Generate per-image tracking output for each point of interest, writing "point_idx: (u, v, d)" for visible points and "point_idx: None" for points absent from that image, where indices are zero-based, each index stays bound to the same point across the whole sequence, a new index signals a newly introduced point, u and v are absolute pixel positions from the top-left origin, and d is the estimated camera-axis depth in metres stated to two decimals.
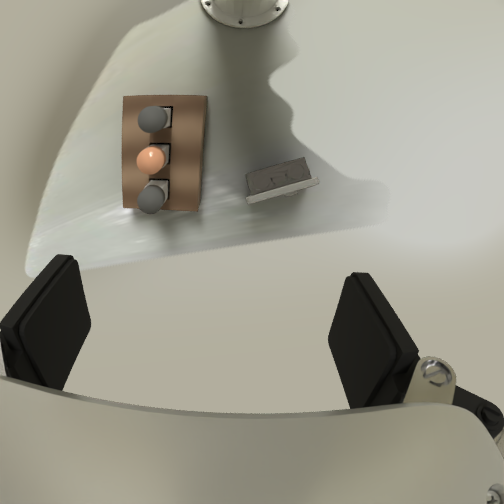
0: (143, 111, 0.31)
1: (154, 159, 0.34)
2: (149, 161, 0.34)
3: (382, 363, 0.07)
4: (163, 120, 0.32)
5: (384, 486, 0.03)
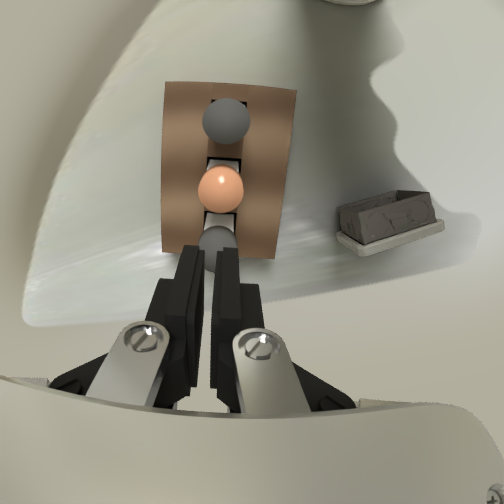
0: (213, 106, 0.19)
1: (229, 188, 0.21)
2: (220, 191, 0.22)
3: None
4: (248, 124, 0.20)
5: (384, 486, 0.03)
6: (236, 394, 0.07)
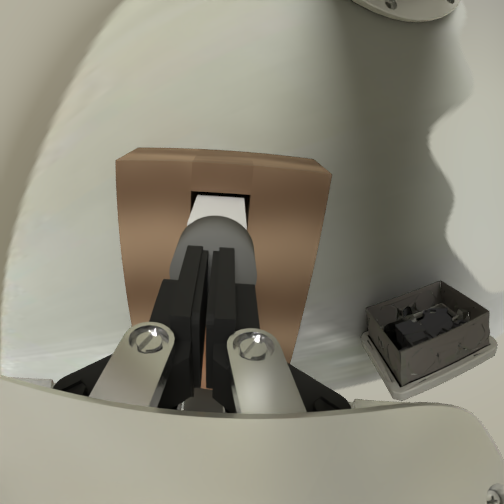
0: None
1: None
2: None
3: None
4: (253, 281, 0.11)
5: (384, 486, 0.03)
6: (230, 394, 0.07)
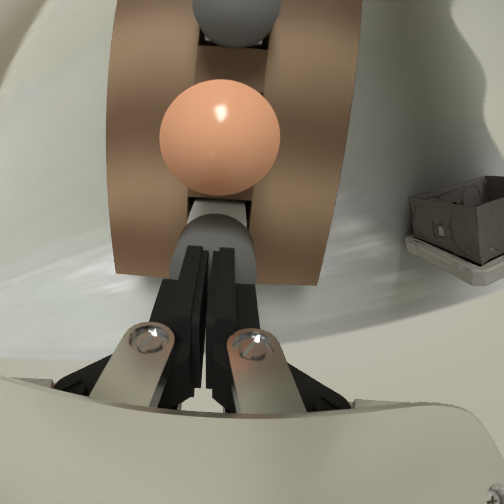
0: None
1: (243, 130, 0.08)
2: (219, 138, 0.08)
3: None
4: (277, 9, 0.09)
5: (384, 486, 0.03)
6: (231, 394, 0.07)
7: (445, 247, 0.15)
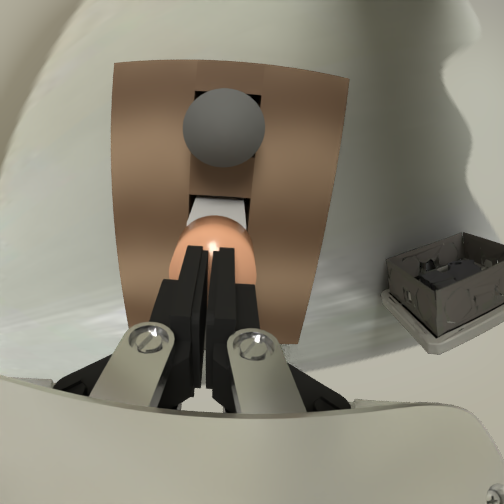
0: (201, 102, 0.11)
1: None
2: None
3: None
4: (261, 133, 0.12)
5: (384, 486, 0.03)
6: (230, 394, 0.07)
7: (412, 311, 0.18)
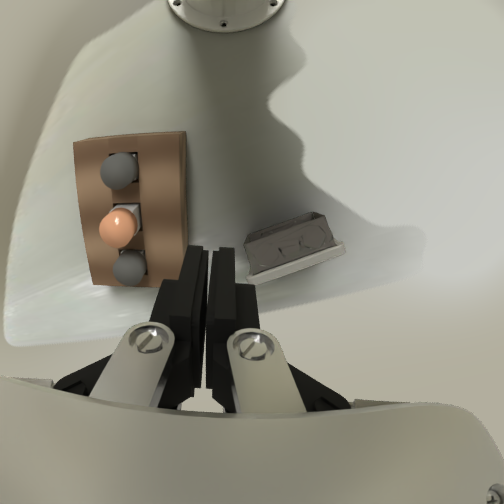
0: (105, 162, 0.24)
1: (120, 228, 0.26)
2: (115, 231, 0.26)
3: None
4: (131, 172, 0.25)
5: (384, 486, 0.03)
6: (231, 394, 0.07)
7: None
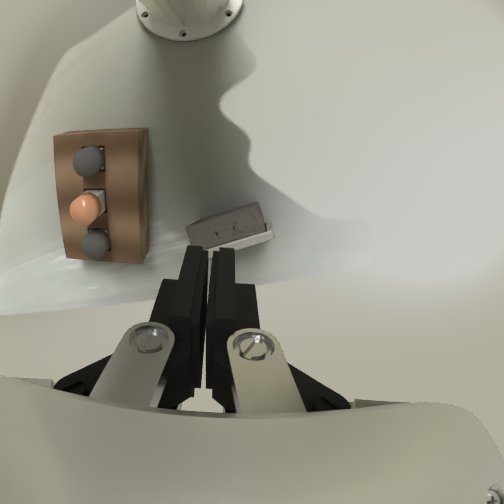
0: (77, 154, 0.28)
1: (86, 210, 0.29)
2: (82, 212, 0.29)
3: None
4: (97, 163, 0.29)
5: (384, 486, 0.03)
6: (230, 394, 0.07)
7: None
